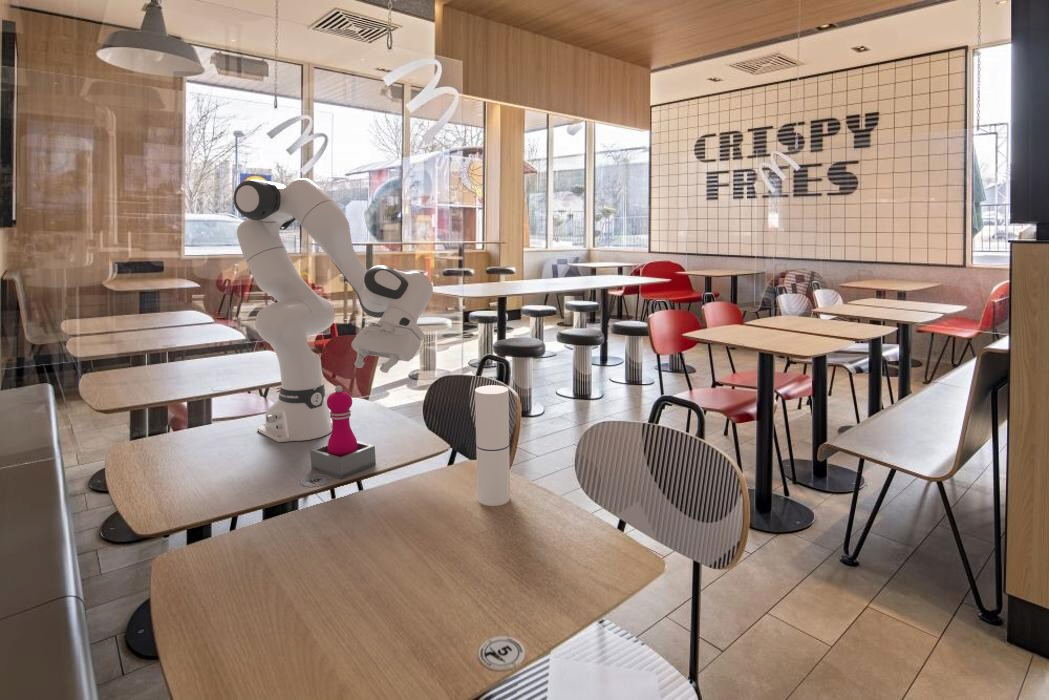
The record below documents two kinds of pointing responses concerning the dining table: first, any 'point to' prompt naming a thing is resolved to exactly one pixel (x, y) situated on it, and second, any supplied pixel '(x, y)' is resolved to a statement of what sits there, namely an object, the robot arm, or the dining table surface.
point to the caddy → (343, 460)
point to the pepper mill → (340, 424)
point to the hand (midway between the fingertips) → (370, 369)
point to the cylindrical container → (492, 444)
